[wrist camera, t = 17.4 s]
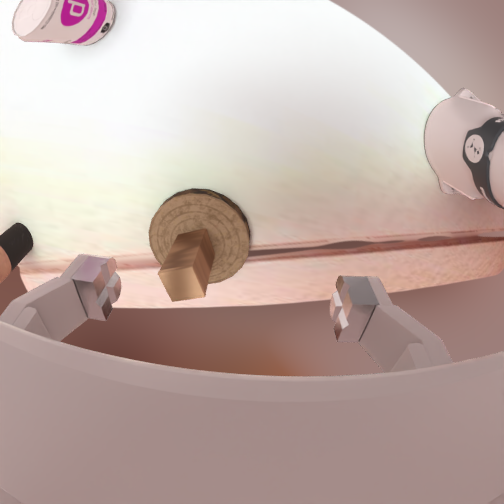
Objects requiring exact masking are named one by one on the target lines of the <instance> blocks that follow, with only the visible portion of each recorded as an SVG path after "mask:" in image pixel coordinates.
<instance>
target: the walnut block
mask: <svg viewBox="0 0 504 504" xmlns="http://www.w3.org/2000/svg"><path fill="white" fill-rule="evenodd" d="M214 257H215V252H214V249H213V246H212V243H211V241H210V238H209V235H208V232H207V229H206V228H204V229H200V230H195V231H191V232H187V233H182V234H178V235H177V237H176V239H175V241H174V243H173V245H172V247H171V249H170V251H169V253H168V255H167V257H166V259H165V261H164V263H163V265H162V267H161V269H160V271H159V272H158V275H159V277H160V279H161V281H162V283H163V285H164V287H165V289H166V291H167V293H168V295H169V297H170V298H171V300H172V302H174V301H181V300H188V299H195V298H202V297H205V295H206V289H207V285H208V281H209V277H210V273H211V269H212V265H213V261H214Z"/></svg>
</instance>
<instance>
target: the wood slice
mask: <svg viewBox="0 0 504 504" xmlns="http://www.w3.org/2000/svg"><path fill="white" fill-rule="evenodd" d="M204 228H206V229H207V232H208V235H209V238H210V241H211V243H212V246H213V249H214V252H215V257H214V261H213V265H212V269H211V273H210V277H209V281H208V284H212V283H218V282H221V281H223V280H225V279H228V278H230V277H232V276H233V275H234V274H235V273H236V272H237V271H238V270H239V269H241V268H242V266H243V264H244V262H245V260H246V258H247V256H248V251H249V240H250V231H249V227H248V223H247V220H246V218H245V216H244V215H243V213H242V212H241V210H240V209H239V207H238V206H237V205H236V204H235V203H233V202H232V201H231V200H230V199H228V198H227V197H226V196H224V195H222V194H219V193H216V192H214V191H211V190H207V189H189V190H185V191H181V192H178V193H176V194H174V195H173V196H171V197H170V198H169V199H167V200H166V201H165V202H164V203H163V204H162V205H161V207H160V208H159V210H158V211H157V212H156V214H155V215H154V217H153V218H152V221H151V225H150V229H149V241H150V247H151V249H152V251H153V254H154V256H155V258H156V259H157V261H158V262H159V263H160V264H161V265H163V263H164V261H165V259H166V257H167V255H168V253H169V251H170V249H171V247H172V245H173V243H174V241H175V239H176V237H177V235H178V234H182V233H187V232H191V231H195V230H200V229H204Z"/></svg>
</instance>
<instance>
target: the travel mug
mask: <svg viewBox="0 0 504 504" xmlns="http://www.w3.org/2000/svg"><path fill="white" fill-rule="evenodd" d="M32 246H33V240H32V236H31V234H30V232H29V231H28V229H27V228H26V227H25V226H24V225H23V224H21V223H16V224H14V225H13V226H12V227H10V228H9V229H8V230H7V231H5V232H4V233H3V234H2V235H0V284H1V282H2V281H3V280H4V279H5V278H6V277H7V276H8V275H9V274H10V273H11V271H12V270H13V269H14V268H15V267H16V266H17V265H18V263H19V262H20V261H21V260H22V259H23V258H24V257H25V256H26V255H27V253H28V252H29V251H30V250H31V249H32Z"/></svg>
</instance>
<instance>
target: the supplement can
mask: <svg viewBox="0 0 504 504" xmlns="http://www.w3.org/2000/svg"><path fill="white" fill-rule="evenodd" d="M114 15H115V12H114V6H113V5H112V4H111V2H109V1H107V0H21V2H20V3H19V4H18V6H17V8H16V11H15V13H14V16H13V20H12V30H13V33H14V35H16V36H18V37H19V38H20V39H21V40H23V41H25V42H50V43H64V44H75V45H89V44H92V43H95V42H96V41H98V40H99V39H101V38H102V37H103V36H104V35H105V34H106V32H107V31H108V30H109V28H110V26H111V25H112V23H113V19H114Z"/></svg>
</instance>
